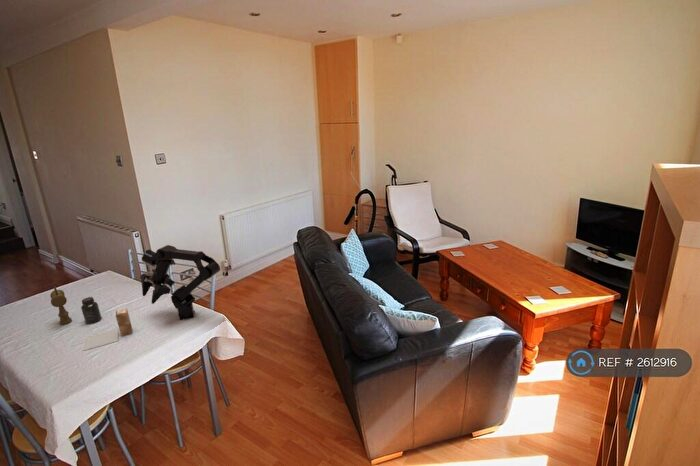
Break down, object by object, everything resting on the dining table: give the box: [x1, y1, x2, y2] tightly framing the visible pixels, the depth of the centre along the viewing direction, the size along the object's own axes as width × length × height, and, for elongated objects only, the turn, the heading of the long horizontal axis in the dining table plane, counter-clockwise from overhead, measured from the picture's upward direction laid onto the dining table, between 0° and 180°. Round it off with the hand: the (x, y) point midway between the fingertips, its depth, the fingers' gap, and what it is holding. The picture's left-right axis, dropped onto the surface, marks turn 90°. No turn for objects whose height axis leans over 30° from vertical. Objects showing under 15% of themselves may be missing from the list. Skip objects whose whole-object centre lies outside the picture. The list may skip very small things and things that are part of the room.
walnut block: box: [115, 308, 133, 337], centre depth 170 cm, size 4×4×11 cm
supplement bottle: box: [80, 296, 102, 325], centre depth 181 cm, size 7×7×12 cm
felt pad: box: [82, 327, 120, 352], centre depth 167 cm, size 13×12×1 cm
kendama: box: [50, 286, 73, 325], centre depth 179 cm, size 6×10×20 cm, turn 41°
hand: (148, 299), depth 177 cm, fingers open, 9 cm apart
